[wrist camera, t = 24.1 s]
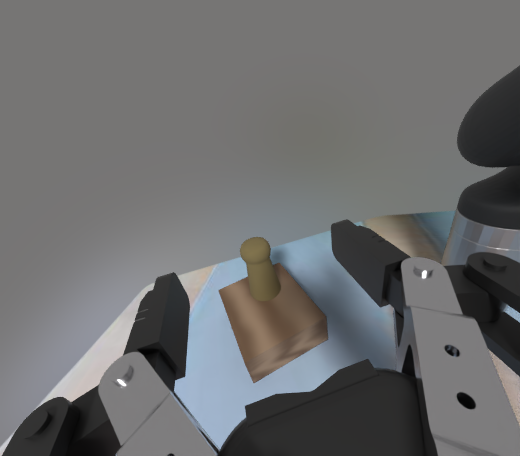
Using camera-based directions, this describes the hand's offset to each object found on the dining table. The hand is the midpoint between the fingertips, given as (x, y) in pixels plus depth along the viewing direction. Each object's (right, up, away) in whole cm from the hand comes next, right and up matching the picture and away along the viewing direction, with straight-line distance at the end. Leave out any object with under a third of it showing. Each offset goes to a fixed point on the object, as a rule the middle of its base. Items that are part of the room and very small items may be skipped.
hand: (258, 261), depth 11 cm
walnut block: (+2, -17, +31) cm, 35 cm away
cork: (+1, -10, +31) cm, 32 cm away
